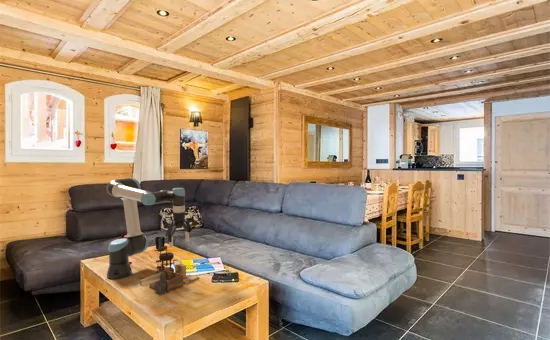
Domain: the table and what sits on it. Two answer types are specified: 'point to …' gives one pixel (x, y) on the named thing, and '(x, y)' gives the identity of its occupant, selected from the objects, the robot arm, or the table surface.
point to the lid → (184, 273)
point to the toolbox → (167, 282)
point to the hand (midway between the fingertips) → (179, 244)
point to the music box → (165, 259)
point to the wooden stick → (150, 279)
